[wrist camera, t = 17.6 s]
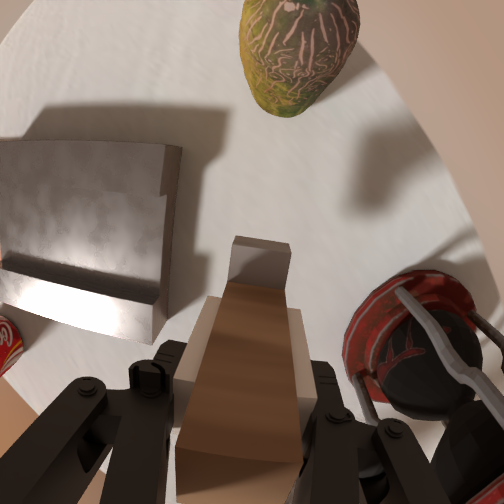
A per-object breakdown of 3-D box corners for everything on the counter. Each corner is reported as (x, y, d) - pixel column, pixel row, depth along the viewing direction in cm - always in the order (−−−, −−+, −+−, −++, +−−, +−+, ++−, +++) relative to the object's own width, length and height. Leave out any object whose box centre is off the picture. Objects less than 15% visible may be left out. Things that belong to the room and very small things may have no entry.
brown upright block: (268, 349, 20) (266, 537, 8) (222, 342, 20) (178, 525, 8) (288, 243, 18) (327, 405, 6) (236, 235, 18) (175, 384, 6)
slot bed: (167, 320, 32) (152, 345, 27) (19, 284, 32) (-6, 299, 27) (182, 147, 28) (165, 144, 23) (18, 141, 28) (-11, 142, 23)
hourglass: (476, 354, 32) (584, 489, 8) (365, 414, 35) (417, 593, 10) (454, 241, 29) (649, 363, 4) (317, 313, 31) (385, 568, 7)
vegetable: (232, 86, 26) (169, -42, 7) (284, 44, 25) (308, -114, 5) (279, 135, 27) (309, 70, 8) (331, 91, 26) (438, -17, 6)
